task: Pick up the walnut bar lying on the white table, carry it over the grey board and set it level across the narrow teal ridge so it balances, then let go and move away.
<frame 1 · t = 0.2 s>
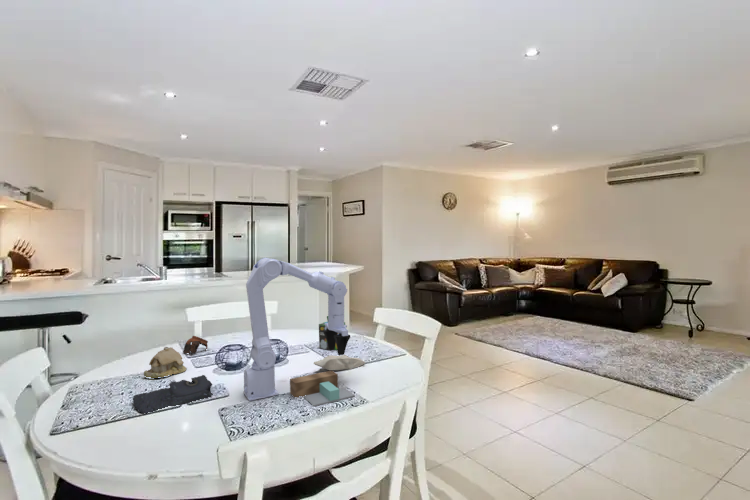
hand: (336, 352, 138), 10 cm above the table, tool pointing down, fingers open, 7 cm apart
brown curved piece: (195, 353, 173), on the table
chalk box: (332, 348, 179), on the table
walnut bar: (314, 391, 128), on the table
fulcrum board: (329, 397, 123), on the table
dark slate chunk: (174, 399, 123), on the table
rock: (336, 367, 153), on the table
ceramic model: (166, 374, 146), on the table
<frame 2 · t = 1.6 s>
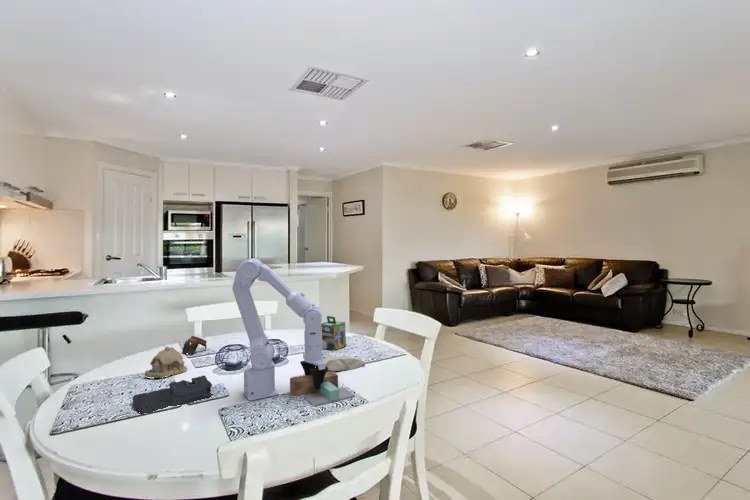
hand: (314, 385, 128), 2 cm above the table, tool pointing down, fingers open, 7 cm apart
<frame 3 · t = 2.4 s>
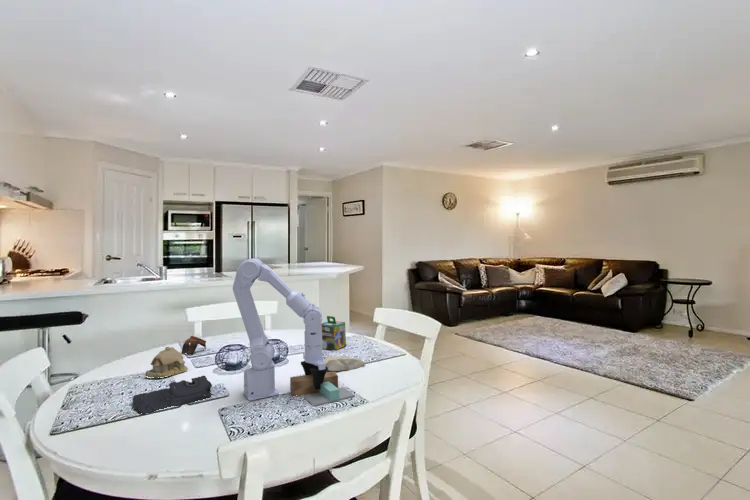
hand: (314, 385, 128), 2 cm above the table, tool pointing down, fingers open, 6 cm apart
nothing on the table moved.
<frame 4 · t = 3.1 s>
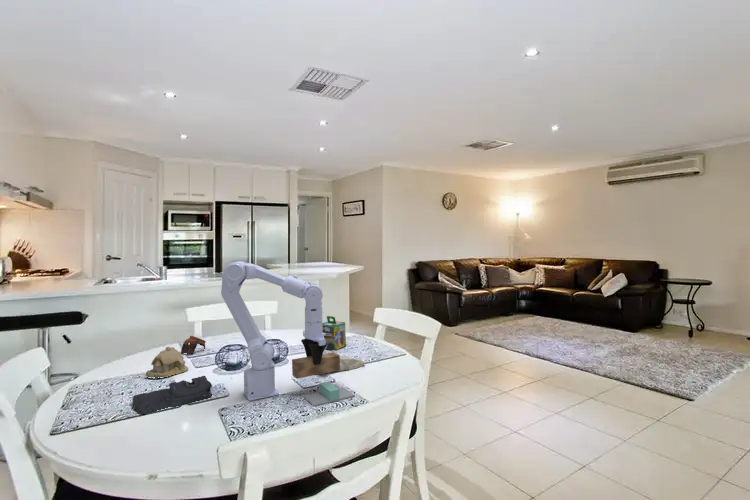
hand: (313, 362, 128), 9 cm above the table, tool pointing down, fingers closed on walnut bar, 5 cm apart
walnut bar: (316, 372, 128), point 6 cm above the table, touching gripper
everything else where it was.
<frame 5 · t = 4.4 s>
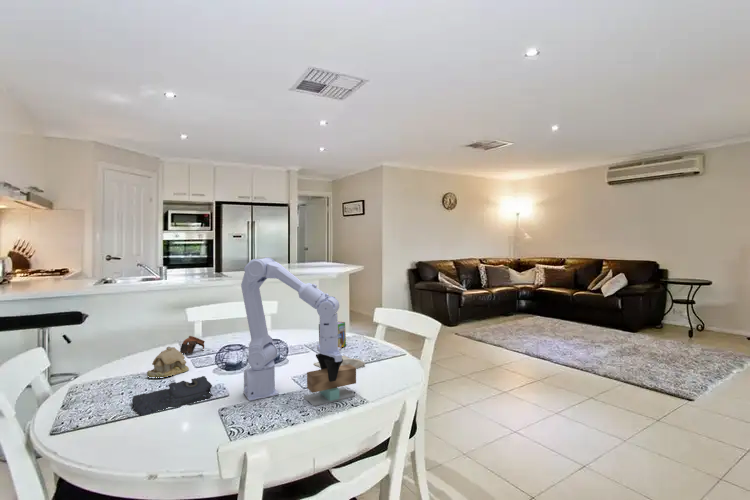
hand: (329, 378, 123), 6 cm above the table, tool pointing down, fingers closed on walnut bar, 4 cm apart
walnut bar: (332, 385, 123), point 3 cm above the table, touching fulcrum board, gripper
when the fingers open (5 cm above the table, at t = 5.0 s): walnut bar stays where it is, resting on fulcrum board.
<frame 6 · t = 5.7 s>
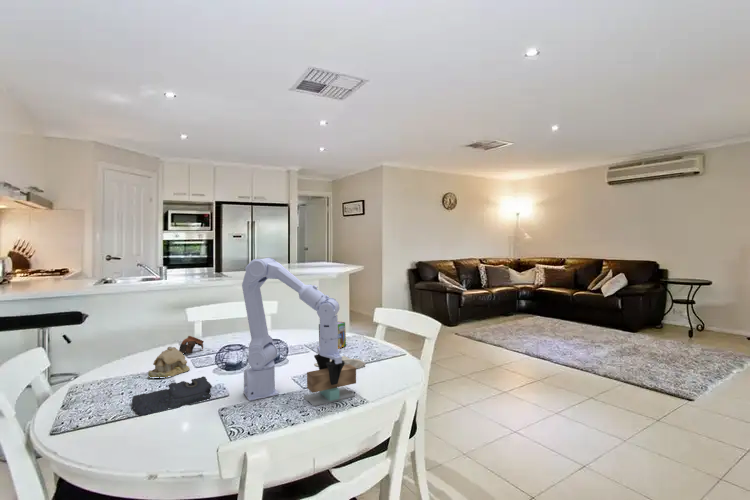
hand: (329, 380, 123), 5 cm above the table, tool pointing down, fingers open, 7 cm apart
walnut bar: (332, 385, 123), point 3 cm above the table, touching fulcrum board
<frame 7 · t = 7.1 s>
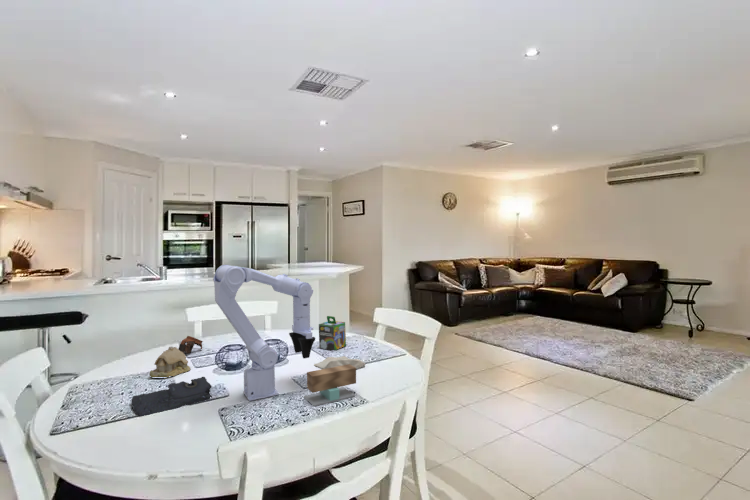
hand: (302, 355, 134), 10 cm above the table, tool pointing down, fingers open, 7 cm apart
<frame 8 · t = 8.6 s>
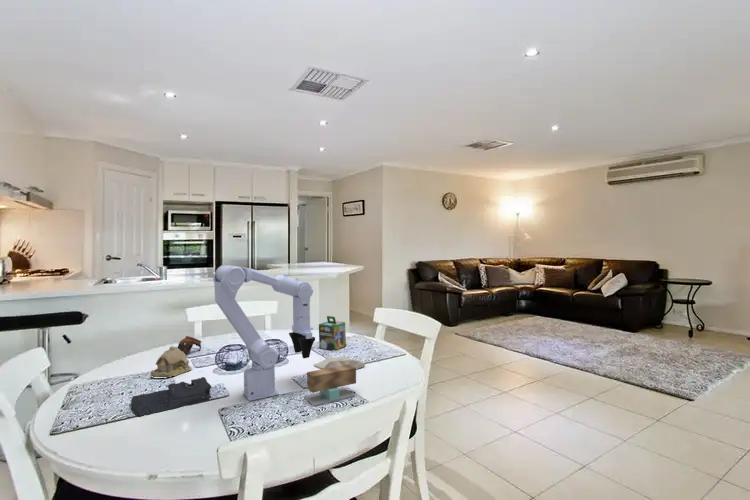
hand: (301, 354, 135), 10 cm above the table, tool pointing down, fingers open, 7 cm apart
at the end: walnut bar 1.0 cm off-centre on the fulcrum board, point 3.5 cm above the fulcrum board's base; walnut bar tilted 0°; walnut bar touching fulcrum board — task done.
